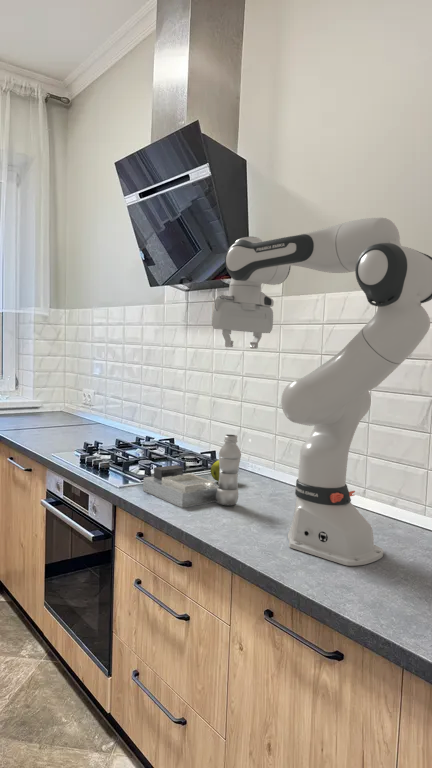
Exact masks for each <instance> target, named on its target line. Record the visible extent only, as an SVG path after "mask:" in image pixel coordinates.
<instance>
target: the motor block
mask: <svg viewBox="0 0 432 768" xmlns="http://www.w3.org/2000/svg"><path fill="white" fill-rule="evenodd" d="M142 485H143V486H142V488H143V489H142V491H143V492H145V493H148V494H150V495H152V496H154V497H157V498H159V499H161V500H164V501H166V502H168V503H170V504H173V505H175V506H177V507H179V508H182V509H184V508H188V507H195V506H200V505H204V504H210V503H215V502H217V500H216V492H217V488H218V485H216V484H215V481H212V480H209V479H207V478H205V477H201V476H199V475H196V474H192V473H184V467H182V466H179V465H177V464H172V465H166V466H165V465H163V466H158V467H154V470H153V476H147V477H143V484H142Z"/></svg>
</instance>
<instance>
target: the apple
mask: <svg viewBox="0 0 432 768" xmlns="http://www.w3.org/2000/svg"><path fill="white" fill-rule="evenodd" d="M219 473H220V465H219V459H218V460H216V461H215V462H214V463H213V464H212V465H211V467H210V474H211V477H212V479H213V480H214V481H216V482H219Z"/></svg>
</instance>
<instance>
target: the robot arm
mask: <svg viewBox="0 0 432 768" xmlns="http://www.w3.org/2000/svg"><path fill="white" fill-rule="evenodd" d="M400 240H401V238H400V232H399V229H398V227H397V226H396V224H395V222H393V221H392V220H390V219H388V218H386V217H365V218H360V219H354V220H351V221H347V222H343V223H342V222H341V223H338V224H335V225H332V226H328V227H325V228H322V229H317V230H313V231H309V232H308V231H307V232H305V233H301V234H295V235H291V236H284V237H278V238H275V239H270V240H265V241H263V240H262V239H261V238H259V237H257V236H244V237H241V238H238V239H236V240H235V242H234V243H233V244H232V245H231V246H230V247H229V248H228V250H227V252H226V254H225V258H224V263H225V264H224V265H225V268H226V271H227V272H228V275H229V276H230V277H231V278H230V282H229V289H228V295H224V294H220V295H219V296H217V297H216V298H215V299H214V300H215V301H214V307H213V311H212V317H211V318H212V320H211V326H212V328H213V329H214V330H222V331H221V332H222V334H221V335H222V337H223V339H224V347H226V348H233V347H234V340H232V338H231V334H232V331H236V332H245V333H246V332H247V333H252V334H253V335H252V336H253V339H252V341H250V342H249V348H250V349H255V350H257V349H259V342H260V340H261V339H262V336H263V334H271V332H272V331H273V326H274V312H273V308H272V307H274V301H275V300H274V299H273V298H271V297H270V296H268V295H267V294H266V293H264V292H262V285H263V284H264V285H270V286H272V285H273V286H275V285H281V284H282V283H284V282H285V280H287V278H288V276H289V274H290V272H291V267H292V266H295V267H302V268H305V269H310V270H315V271H318V272H323V273H329V274H345V273H347V274H348V273H352V272H355V278H356V282H357V284H358V286H359V287H360V289H361V290H362V291H363V293H364V294H365V297H366V299H367V302H368V303H369V305H371V306H374V307H377V309H376V312H375V314H374V315H373V316H372V317H371V319H370V320H369V321H368V322H367V323H366V324H365V325H364V326H363V327H362V328H361V330H360V331H358V332H357V334H356V335H355V336H354V337H353V338H352V339H351V340H350V341H349V342H348V343H347V344H346V345H345V347H343V349H341V350H340V351H339V352H338V353H337V354H335V355H334V356H332V357H331V358H329V360H327V361H325V362H324V363H323V364H321V365H319V366H318V367H317V368H315V369H313V370H312V371H311V372H309V373H308V374H306V375H305V376H303V377H301V378H298V379H296V380H293V381H292V382H290V383H288V384H287V385H286V386H285V388H284V390H283V391H282V395H281V401H280V402H281V403H280V404H281V409H282V411H283V414H284V416H285V417H286V418H287V419H288V421H290V422H292V423H295V424H299V425H302V426H303V425H304V426H309V427H313V426H314V427H313V429H312V432H311V434H310V435H309V436H308V438H307V440H305V441H304V442H303V444H302V445H301V446H300V449H299V460H298V461H299V463H298V464H299V465H298V474H297V475H298V476H297V479H296V482H295V488H294V489H295V490H294V491H295V492H294V494H295V497H296V499H295V506H294V513H293V517H292V521H291V524H290V528H289V529H288V530H289V531H288V534H287V540H288V541H289V542H288V547H289V548H290V549H294V550H296V551H300V552H303V553H306V554H310V555H312V556H316V557H320V558H322V559H324V560H328V561H331V562H335V563H338V564H340V565H344V566H350V567H353V566H363V565H367V564H371V563H374V562H376V561H379V560H380V559H382V558H383V556H384V549H383V548H382V547H380V546H378V545H376V544H374V543H375V541H374V539H375V538H374V530H373V527H372V525H371V524H370V522H369V521H368V520H366V517H364V516H363V515H362V514H361V513H360V512H359V510H358V509H357V508H356V507H355V505H353V503H352V502H351V501H352V499H351V497H354V496H355V494H354V493H355V492H356V490H351V491H349V488H348V485H347V483H346V480H347V470H348V468H347V467H348V459H349V451H350V448H351V444H352V441H353V438H354V435H355V433H356V432H357V429H358V426H359V424H360V422H361V420H362V419H364V417H365V416H366V415H367V414H368V412H369V410H370V408H371V403H372V397H371V394H370V391H371V390H373V389H375V388H377V387H378V386H379V385H380V384H382V382H383V381H385V379H387V378H388V377H389V376H390V375H391V374H392V373H393V372H394V371H395V370H396V369H397V368H398V367H399V366H401V364H403V362H404V361H405V360H406V359H408V357H410V355H412V353H413V352H414V351H415V350H416V349H417V347H418V346H419V345H420V344H421V343H422V340H423V339H424V338H425V337H426V335H427V333H428V332H429V330H430V327H431V320H430V319H431V318H430V316H429V314H428V312H427V311H426V309H425V308H424V307H423V306H422V304H425V303H427V302H430V301H431V300H432V256H430V255H429V254H427V253H423V252H421V251H418V250H416V249H414V248H412V247H407V246H403V245H402V244H401V241H400Z"/></svg>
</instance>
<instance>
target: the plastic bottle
mask: <svg viewBox="0 0 432 768" xmlns="http://www.w3.org/2000/svg"><path fill="white" fill-rule="evenodd" d="M223 441H224V444H223V445H222V446H221V447H220V449H219V452H218V460H219V465H220V473H219V481H218V484H217V486H218V488H217V492H216V500H217V501H216V502H217V503H218V505H222V506H235V505H236V504H237V503H238V500H239V489H238V485H239V483H238V476H239V474H238V473H239V467H240V463H241V457H242V452H241V450H240V448H239V446H238V444H237V443H238V434H237V435H236V434H225V435H224V439H223Z"/></svg>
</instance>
